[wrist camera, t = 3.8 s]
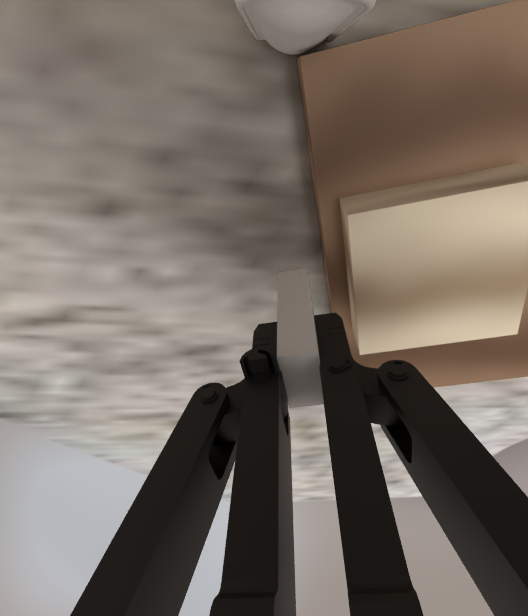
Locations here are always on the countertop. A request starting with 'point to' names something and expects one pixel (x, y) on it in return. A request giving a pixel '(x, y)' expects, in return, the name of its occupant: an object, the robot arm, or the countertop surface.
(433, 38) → the board
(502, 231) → the birch tile
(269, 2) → the photo printer
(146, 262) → the countertop surface
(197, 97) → the countertop surface
